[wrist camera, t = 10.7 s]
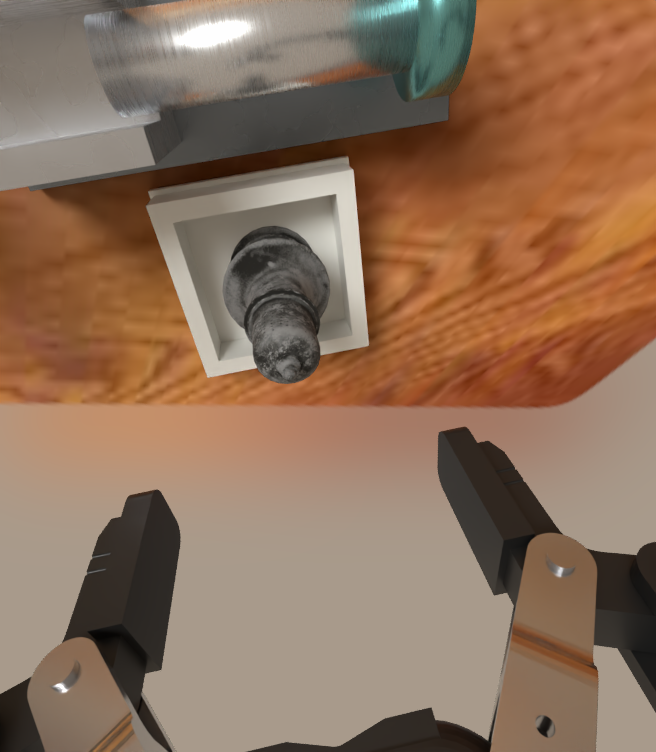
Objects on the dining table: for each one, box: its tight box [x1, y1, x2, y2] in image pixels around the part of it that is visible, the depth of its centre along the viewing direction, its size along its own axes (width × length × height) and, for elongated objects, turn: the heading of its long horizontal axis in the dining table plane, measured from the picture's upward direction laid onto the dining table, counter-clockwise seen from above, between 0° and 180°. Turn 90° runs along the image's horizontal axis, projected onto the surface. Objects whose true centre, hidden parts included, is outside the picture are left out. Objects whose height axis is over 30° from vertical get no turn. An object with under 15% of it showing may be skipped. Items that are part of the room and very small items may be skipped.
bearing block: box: [0, 0, 449, 191], centre depth 17 cm, size 22×8×8 cm, turn 98°
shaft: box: [84, 0, 476, 118], centre depth 16 cm, size 13×5×5 cm, turn 98°
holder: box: [146, 156, 369, 378], centre depth 26 cm, size 11×11×3 cm
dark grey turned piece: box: [222, 226, 330, 384], centre depth 21 cm, size 6×6×12 cm
